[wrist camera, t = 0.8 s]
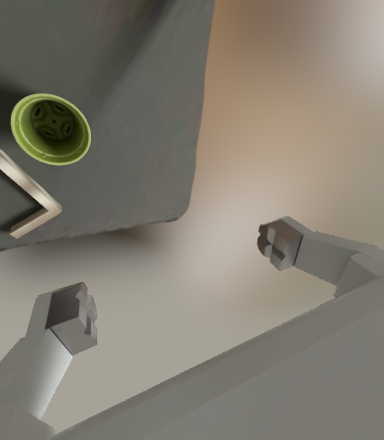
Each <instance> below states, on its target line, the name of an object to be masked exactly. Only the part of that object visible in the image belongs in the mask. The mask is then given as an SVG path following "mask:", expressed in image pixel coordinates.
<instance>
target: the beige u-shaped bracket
mask: <svg viewBox="0 0 384 440" xmlns="http://www.w3.org/2000/svg"><path fill="white" fill-rule="evenodd" d="M0 169H1V170H2V171H3V172H4V173H5V174H7V175H8V176H9V177H10V178H11V179H12V180H14V181H15V182H16V183H17V184H18V185H19V186H21V187H22V188H23V189H24V190H25V191H26V192H28V193H29V194H30V195H31V196H32V197H33V198H35V199H36V200H37V201H38V202H39V203H40V204H42V205H43V206H44V208H43V209H41V210H39V211H38V212H36V213H34V214H32V215H31V216H29V217H27V218H26V219H24V220H22V221H20V222H19V223H17V224H15V225H14V226H12V227H11V231H10V235H12V236H13V237H15V238H19V237H21V236H22V235H24V234H26V233H27V232H29V231H31V230H32V229H34V228H36V227H37V226H39V225H41V224H42V223H44V222H46V221H48V220H49V219H51V218H53V217H54V216H56V215H58V214H59V213H61V212H62V208H61V205H60V204H59V203H58V202H57V201H56V200H54V199H53V198H52V197H51V196H50V195H49V194H48V193H47V192H46V191H45V190H44V189H43V188H42V187H40V186H39V185H38V184H37V183H36V182H35V181H34V180H33V179H32V178H31V177H30V176H29V175H28V174H26V173H25V172H24V171H23V170H22V169H21V168H20V167H19V166H18V165H17V164H16V163H15V162H14V161H12V160H11V159H10V158H9V157H8V156H7V155H6V154H5V153H4V152H3V151H2V150H1V149H0Z"/></svg>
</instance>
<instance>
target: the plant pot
mask: <svg viewBox="0 0 384 440" xmlns="http://www.w3.org/2000/svg"><path fill="white" fill-rule="evenodd" d="M55 106H58V107H60V108H62V109H63V110H64V112H63V111H61V110H60V109H58V108H56V107H55ZM39 108H40V109H41V110H40V112H39V113H38V116H36V115H35V113H36V111H37V109H39ZM52 120H55V121H56V123H53V122H52ZM69 125H70V126H71V128H70V131H69V132H68V133H67V132H66V131H67V129H68V127H69ZM11 129H12V132H13V135H14V137H15V139H16V141H17V143H18V144H19V145H20V147H21V148H22V149H23V150H24V151H25V152H26V153H28V154H29V155H30V156H32V157H33V158H35V159H37V160H39V161H41V162H44V163H47V164H52V165H66V164H71V163H74V162H76V161H78V160H79V159H81V158H82V157H83V156H84V155H85V154H86V152H87V151H88V149H89V146H90V142H91V133H90V128H89V125H88V123H87V121H86V119H85V117H84V116H83V114H82V113H81V112H80V111H79V110H78V109H77V108H76V107H75V106H74V105H73V104H71V103H70V102H68V101H67V100H65V99H63V98H61V97H58V96H55V95H51V94H42V93H41V94H33V95H29V96H27V97H25V98H23V99H21V100H20V101H19V102H18V103H17V104H16V106H15V107H14V109H13V111H12V115H11ZM44 131H46V132H48V133H50V134H52V135H53V136H50V135H48V134H46V133H45V132H44Z"/></svg>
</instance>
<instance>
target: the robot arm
mask: <svg viewBox="0 0 384 440" xmlns="http://www.w3.org/2000/svg"><path fill="white" fill-rule="evenodd" d="M259 233H260V236H259V237H258V240H257V245H258V248H259V250H260V252H261V253H262V254H263V255H264V256H265V257H268V258H270V262H271V263H272V264H273V265H274V266H275V267H276V268H277V269H278V270H279V271H281V270H284V269H287V268H290V267H292V266H294V267H296V268H298V269H300V270H303V271H305V272H307V273H309V274H312V275H314V276H316V277H318V278H320V279H323V280H325V281H327V282H329V283H331V284H334V285H336V288H335V290H334V292H333V294H334V296H335V297H336V298H334V299H332V300H330V301H328V302H326V303H324V304H322V305H320V306H317V307H316V308H314V309H311V310H310V311H307V312H305V313H303V314H301V315H299V316H297V317H295V318H293V319H291V320H289V321H287V322H285V323H283V324H281V325H279V326H277V327H274V328H272V329H271V330H268V331H266V332H264V333H262V334H260V335H258V336H256V337H254V338H252V339H250V340H248V341H246V342H244V343H242V344H240V345H238V346H236V347H234V348H231V349H229V350H227V351H226V352H223V353H221V354H219V355H217V356H215V357H213V358H211V359H209V360H207V361H205V362H203V363H201V364H199V365H197V366H195V367H193V368H190V369H189V370H187V371H184V372H182V373H180V374H178V375H176V376H174V377H172V378H170V379H168V380H166V381H164V382H162V383H160V384H158V385H156V386H154V387H152V388H150V389H148V390H146V391H143V392H141V393H140V394H137V395H135V396H133V397H131V398H129V399H127V400H125V401H123V402H121V403H119V404H117V405H115V406H113V407H111V408H109V409H107V410H105V411H103V412H101V413H98V414H97V415H95V416H92V417H90V418H88V419H86V420H84V421H82V422H80V423H78V424H76V425H74V426H72V427H70V428H68V429H66V430H64V431H62V432H60V433H58V434H56V435H55V429H54V428H53V427H51V426H49V425H48V424H46V423H44V422H43V421H41V420H40V419H41V418H42V416H43V414H44V412H45V410H46V407H47V406H48V404H49V402H50V400H51V398H52V396H53V394H54V392H55V390H56V389H57V386H58V385H59V383H60V381H61V379H62V377H63V375H64V373H65V371H66V369H67V367H68V365H69V363H70V361H71V359H72V358H73V356H72V355H75V354H77V353H79V352H81V351H84V350H86V349H88V348H91V347H93V346H96V345H97V328H96V326H95V324H94V321H95V320H96V318H97V313H96V306H95V303H94V300H93V297H92V295H89V294H87V286H86V285H85V283H84V282H81V283H77V284H74V285H70V286H67V287H64V288H60V289H57V290H54V291H51V292H48V293H45V294H41V295H39V296H38V297H37V299H36V301H35V304H34V308H33V311H32V315H31V319H30V322H29V326H28V329H27V333H26V337H24V338H21V339H20V340H19V341H18V342H17V343H16V344H15V345H14V347H13V348H12V349H11V350H10V351H9V352H8V353H7V355H6V356H5V357H4V358H3V359H2V360H1V362H0V440H384V251H383V250H382V249H380V248H378V247H376V246H374V245H370V244H366V243H362V242H358V241H354V240H349V239H345V238H341V237H337V236H333V235H329V234H324V233H320V232H312V231H311V230H309V229H308V228H306V227H305V226H303V225H302V224H300V223H299V222H297V221H296V220H294V219H292V218H291V217H288V216H285V217H282V218H279V219H277V220H273V221H271V222H267V223H264V224H261V225H260V227H259Z"/></svg>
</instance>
